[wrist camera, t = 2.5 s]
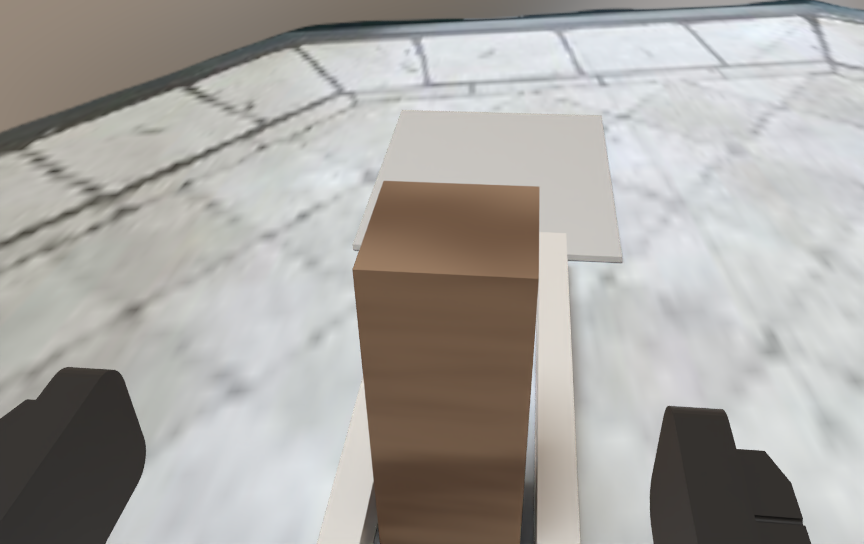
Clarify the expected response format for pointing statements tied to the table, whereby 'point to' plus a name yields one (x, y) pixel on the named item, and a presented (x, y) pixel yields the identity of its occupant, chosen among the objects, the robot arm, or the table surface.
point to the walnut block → (448, 357)
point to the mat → (514, 168)
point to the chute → (554, 428)
